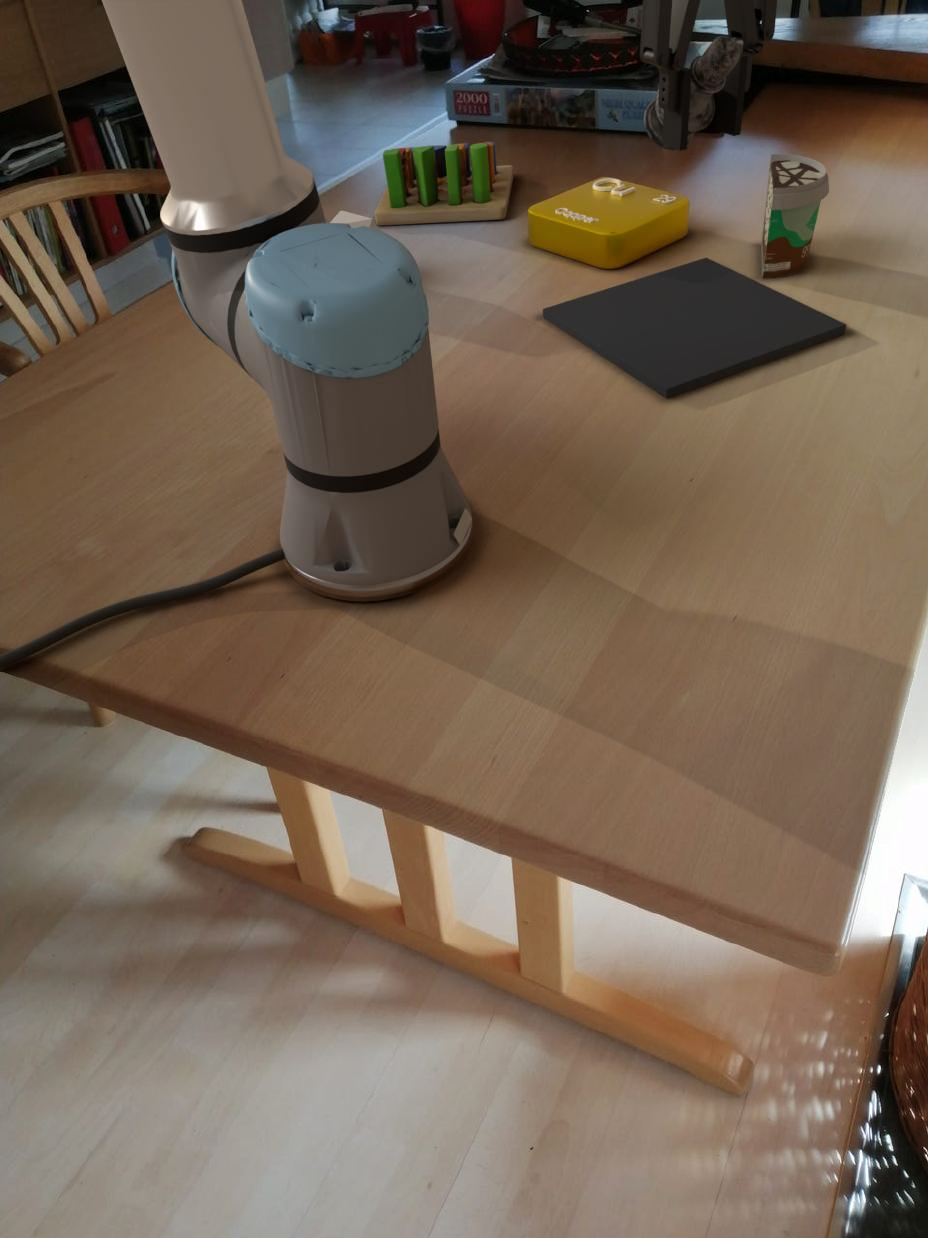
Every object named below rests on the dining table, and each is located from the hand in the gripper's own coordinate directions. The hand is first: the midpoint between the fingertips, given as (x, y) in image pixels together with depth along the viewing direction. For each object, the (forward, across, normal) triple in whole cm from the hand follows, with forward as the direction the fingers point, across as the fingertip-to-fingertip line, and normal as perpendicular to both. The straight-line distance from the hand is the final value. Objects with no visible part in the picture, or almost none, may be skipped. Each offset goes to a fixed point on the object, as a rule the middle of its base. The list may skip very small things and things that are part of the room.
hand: (701, 138), depth 93 cm
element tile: (+19, -7, -25) cm, 32 cm away
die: (+19, +24, -32) cm, 44 cm away
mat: (+18, 0, 0) cm, 18 cm away
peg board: (+19, +2, -51) cm, 54 cm away
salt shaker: (0, 0, -5) cm, 5 cm away
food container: (+19, -19, -6) cm, 27 cm away
